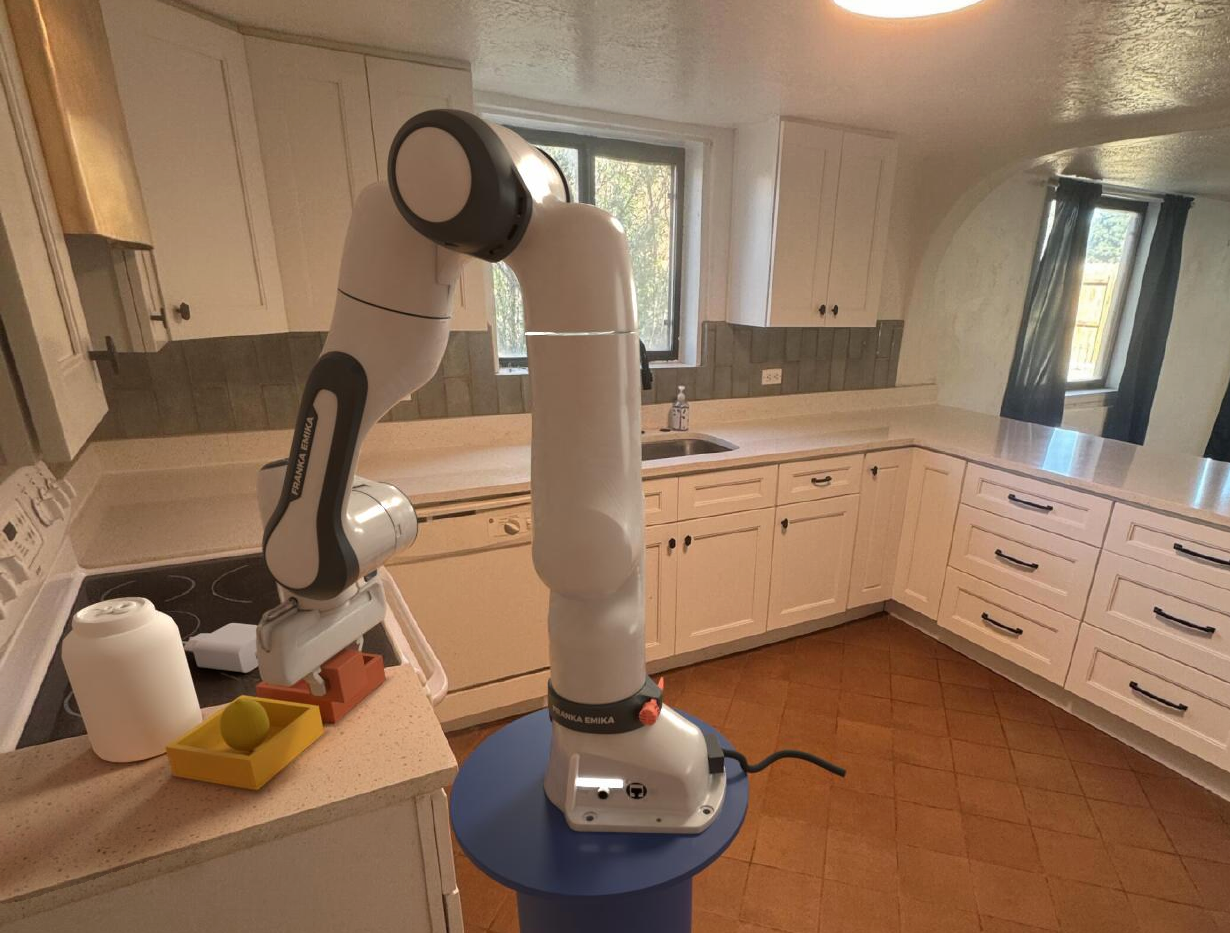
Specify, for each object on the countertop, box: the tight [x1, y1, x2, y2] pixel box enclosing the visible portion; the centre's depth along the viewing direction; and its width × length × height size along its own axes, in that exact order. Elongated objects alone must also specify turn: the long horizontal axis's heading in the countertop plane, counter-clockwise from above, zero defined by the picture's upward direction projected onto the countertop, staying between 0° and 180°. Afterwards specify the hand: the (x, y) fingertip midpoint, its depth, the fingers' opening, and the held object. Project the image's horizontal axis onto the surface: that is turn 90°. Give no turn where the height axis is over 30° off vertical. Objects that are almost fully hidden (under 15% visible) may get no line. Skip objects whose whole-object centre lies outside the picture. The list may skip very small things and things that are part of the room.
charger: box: [181, 622, 259, 674], centre depth 118 cm, size 5×9×15 cm
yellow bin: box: [165, 694, 325, 791], centre depth 93 cm, size 13×13×4 cm
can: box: [61, 596, 204, 763], centre depth 93 cm, size 12×12×20 cm
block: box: [307, 648, 368, 703], centre depth 91 cm, size 5×5×5 cm
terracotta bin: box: [254, 652, 387, 724], centre depth 107 cm, size 13×13×4 cm
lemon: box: [220, 698, 269, 752], centre depth 92 cm, size 6×6×8 cm
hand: (338, 680), depth 91 cm, fingers closed on block, 5 cm apart
